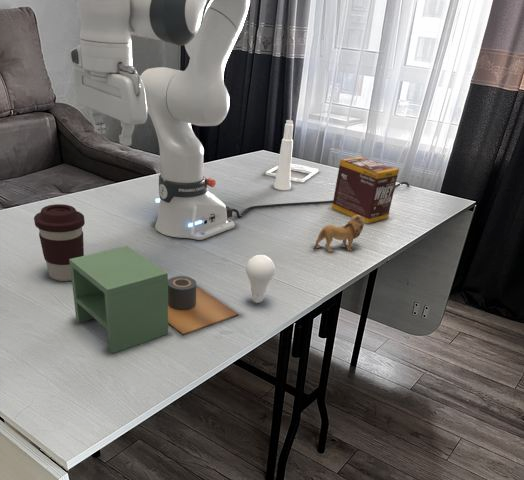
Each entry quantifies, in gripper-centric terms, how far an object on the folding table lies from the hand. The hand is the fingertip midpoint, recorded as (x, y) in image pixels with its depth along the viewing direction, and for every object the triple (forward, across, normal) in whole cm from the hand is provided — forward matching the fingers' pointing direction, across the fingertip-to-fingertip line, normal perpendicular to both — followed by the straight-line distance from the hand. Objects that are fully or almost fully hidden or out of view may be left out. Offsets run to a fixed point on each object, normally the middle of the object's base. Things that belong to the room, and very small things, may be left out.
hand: (112, 139), depth 105 cm
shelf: (+30, -18, +11) cm, 37 cm away
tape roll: (+30, -17, -4) cm, 34 cm away
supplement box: (+31, 0, -86) cm, 91 cm away
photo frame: (+31, +42, -97) cm, 110 cm away
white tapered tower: (+31, +31, -81) cm, 92 cm away
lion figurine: (+31, -15, -58) cm, 67 cm away
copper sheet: (+30, -17, -4) cm, 35 cm away
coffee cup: (+30, +8, +9) cm, 33 cm away
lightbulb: (+30, -25, -18) cm, 44 cm away
